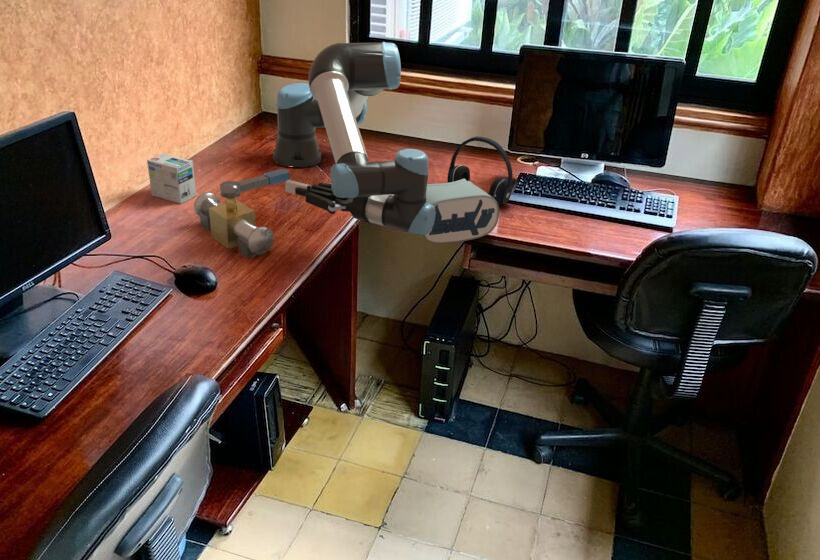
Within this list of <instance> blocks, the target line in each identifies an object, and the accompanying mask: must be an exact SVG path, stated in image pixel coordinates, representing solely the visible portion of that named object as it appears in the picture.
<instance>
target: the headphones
mask: <svg viewBox="0 0 820 560" xmlns="http://www.w3.org/2000/svg"><path fill="white" fill-rule="evenodd" d="M470 142H471V143H472V142H481V143H485V144H487V145H490V146H492V147H493V148H494V149H495V150H496V151H497V152H498V153H499V154H500V155H501V157H502V159H503V160H504V163H505V166H506V170H507V178H506V177H501V176H499V177H496V178H495V179H494V180H493V181H492V183H491V185H490V188H489V189H488V190H489V191H488V194H489V195H490V196H491V197H493V198H494V199H495V200H496V201H497V203H498V206H499V205H501V204H502V205H505V204H507V203H508V202H509V201H510V199H511V196H512V193H513V187H514V186H513V167H512V163H511V161H510V159H509V156H508V154H507V152H506V151H505V149H504V148H503V147H502V145H500V143H498V142H497V141H495V140H494V139H491V138H488V137H484V136H472V137H470V138H469V139H467V140H464V141H463V142H462V143H461V144H460V145H459V146H458V147H457V148H456V150H455V151H454V152H453V154H452V157H451V160H450V163H449V167H448V172H447V183H450V182H455V181H458V180H461V179H466V180H467V181H470V182H471V171H470V169H469V167H468V166H466V165H462V164H457V165H456V159H457V157H458V155H459V152H460V151H461V149H462V148H464V147H465V146H467V144H468V143H470Z"/></svg>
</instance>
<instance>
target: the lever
mask: <svg viewBox="0 0 820 560" xmlns="http://www.w3.org/2000/svg"><path fill="white" fill-rule="evenodd" d="M287 180H291V175H290V171H288V170H287V169H285V168H280V169H276V170H272V171H268V172H265V173H263V174H262V175H258V176H254V177H250V178H247V179H243V180H239V181H235V180H228V181H227V180H226V181H222V182H221V183H220V184H219V192H220V196H221V197H223V198H225V199H226V198H235V197H236V198H238V197H240V196H241V195H242V193H245V192H247V191H250V190H255V189H258V188H262V187H265V186H274V185H277V184H281V183H285V182H286V181H287Z"/></svg>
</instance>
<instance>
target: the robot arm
mask: <svg viewBox="0 0 820 560" xmlns="http://www.w3.org/2000/svg"><path fill="white" fill-rule="evenodd" d="M401 65H402V64H401V57H400V52H399V49H398V46H397V45H396V44H395V43H393V42H385V41H382V42H336V43H334V44H333V43H332V44H330V45H328V46H326V47H324V48H323V49H322V50H321V51H320V52H319V53H318V54H317V55H316V57H315V58H314V59H313V62H312V63H311V64H310V69H309V70H308V82H307V83H305V82H299V83H298V82H296V83H291V84H288V85H286V86H283V87H282V88H279V90H278V91H277V94H276V95H277V96H276V108H277V109H276V110H277V112H276V114H277V139H276V142H275V145H274V149H273V150H272V151H273V153H272V160H273V162H274V161H275V162H277V163H279V164H282V165H285V166H293V167H305V168H308V167H307V166H311V167H314V166H316V165H318V164H319V163H321V162H322V152H321V149H320V146H319V143H318V140H317V137H316V128H325V130H326V131H325V132H326V134H327V138H328V141H329V142H328V143H329V145H330V149H331V152H332V155H333V159H334V163H335V164H333V165H332V166H330V173H329V182H330V183H327V182H318V184H307V183H303V182H300V181H297V180H296V181H295V180H291V179H290V180H287V181H285V182H284V184H285V188H284V189H285V193H289V194H294V195H297V196H301V197H305V203H307V204H310V205H311V206H314V207H316V208H319V209H321V210H324V211H327V212H328V213H329V214H331V215H335V214H336V211H341V212H349V213H350V214H351V216H352V217H353V218H354V219H355V220H360V221H363V222H369V223H371V224H374V225H380V226H381V227H383V226H384V227H388V228H391V229H396V230H398V231H402V232H407V233H409V234H415V235H421V236H423V235H426V234H428V233H429V232H430V231H431V229H432V227H433V225H434V221H435V216H436V212H435V207H434V206H433V205H431V204H429V203H426V190H427V184H428V178H429V172H430V171H429V164H430V163H429V157H428V154H426V153H425V152H424V151H422V150H420V149H415V148H403V149H401V150H399V151H397V152H396V154H395V158H394V160H385V161H384V160H382V161H370V160H369V159H370V158H369V157H368V154H367V151H366V148H365V147H366V146H365V144H364V141H363V137H362V135H361V131H360V129H359V125H361V124H363V123H364V121H365V119H366V115H367V108H368V107H367V99H369V97H374V96H376V95H379V94H380V93H381V92H383V90H389V91H392V90H395V89H398V88H399V87H400V84H401V78H402V77H401V76H402V70H401V69H402V66H401ZM275 162H274V163H275ZM277 163H276V164H277Z"/></svg>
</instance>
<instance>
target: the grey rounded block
mask: <svg viewBox="0 0 820 560" xmlns="http://www.w3.org/2000/svg"><path fill="white" fill-rule="evenodd" d="M426 203H429V204H431V205H433V206H434V207H435V212H436V216H435V221H434V225H433V227H432V229H431V231H430V232H429V233H428V234H426V235H422V236H423V238H425V240H426V241H428V242H430V243H433V244H438V245H440V244H441V245H442V244H454V243H462V242H466V241H473V240H477V239H480V238H483V237H485V236H488V235H489V234H490V233H492V232H493V230H494V229H495V228H496V226H497V224H498V221H499V218H500V208H499V207H500V206H499V205H498V203H497V201H496V200H495V199H494V198H493V197H491V196H490V195H489V193H487V192H486V191H485V190H483V189H482V188H481V187H478V186H477V185H475V184H474V183H473V182H472V181H471V180H470V181H467V180H466V179H461V180H458V181H455V182H450V183H448V182H445V183H444V182H443V183H427V190H426Z"/></svg>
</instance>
